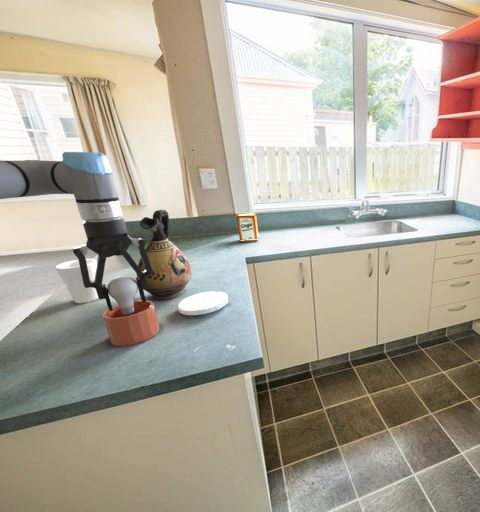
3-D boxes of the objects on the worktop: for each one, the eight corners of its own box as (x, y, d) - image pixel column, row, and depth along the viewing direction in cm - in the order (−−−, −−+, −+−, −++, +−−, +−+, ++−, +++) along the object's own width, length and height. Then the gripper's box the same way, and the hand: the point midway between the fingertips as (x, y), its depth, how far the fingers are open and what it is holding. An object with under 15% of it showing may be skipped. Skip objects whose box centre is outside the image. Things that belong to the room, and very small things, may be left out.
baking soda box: (240, 242, 173) (236, 215, 168) (242, 239, 179) (238, 213, 174) (257, 241, 176) (254, 214, 171) (259, 238, 182) (255, 212, 177)
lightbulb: (138, 307, 84) (131, 271, 80) (146, 314, 80) (139, 276, 77) (110, 315, 79) (101, 277, 76) (117, 323, 75) (108, 282, 72)
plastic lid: (235, 307, 98) (234, 300, 97) (187, 323, 88) (185, 315, 87) (219, 294, 107) (217, 288, 106) (173, 307, 97) (172, 300, 96)
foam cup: (103, 301, 100) (92, 265, 96) (65, 308, 95) (51, 270, 91) (108, 291, 108) (97, 257, 104) (72, 297, 103) (60, 261, 99)
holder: (100, 346, 77) (91, 318, 74) (131, 324, 86) (124, 300, 84) (141, 345, 77) (133, 318, 74) (167, 324, 87) (162, 300, 84)
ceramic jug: (183, 302, 100) (164, 214, 91) (132, 305, 98) (108, 215, 89) (203, 282, 116) (189, 206, 107) (160, 284, 114) (142, 207, 105)
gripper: (44, 227, 63) (77, 323, 70) (155, 216, 76) (173, 297, 83) (45, 222, 67) (76, 312, 75) (149, 212, 81) (167, 289, 88)
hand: (127, 304), depth 79 cm, fingers closed on lightbulb, 6 cm apart
